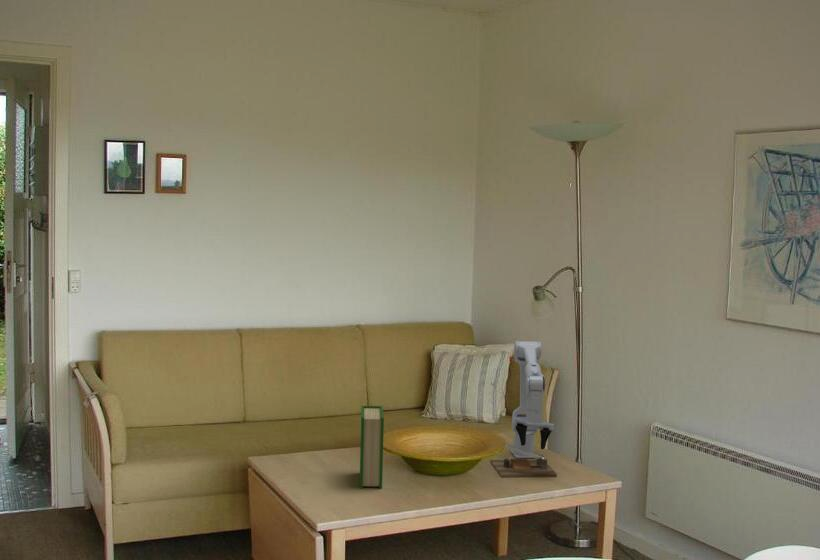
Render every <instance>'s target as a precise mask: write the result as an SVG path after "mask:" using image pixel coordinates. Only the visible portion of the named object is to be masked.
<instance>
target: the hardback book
mask: <svg viewBox="0 0 820 560" xmlns="http://www.w3.org/2000/svg"><path fill="white" fill-rule="evenodd" d="M360 409H361V410H360V412H361V413H360V449H359V453H360V454H359V489H360V490H361V489H362V490H363V488H364V487H379V488H378V489H379V490H382V489H383V470H384V469H383V465H384V464H383V462H384V426H385V425H384V420H385V415H384V407H383V405H361V406H360Z"/></svg>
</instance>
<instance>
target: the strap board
mask: <svg viewBox="0 0 820 560" xmlns="http://www.w3.org/2000/svg"><path fill="white" fill-rule="evenodd" d="M538 455H539V456H540V455H541V456H542V457H543V458H544V455H543V454H538ZM489 463H490V464H491V466H492V467H493V468H494V470H495V471H496V472H497V474H498V475H499V476H500V478H537V477H538V478H545V477H547V478H550V477H551V478H552V477H554V478H555V477H557V472H556V471H554V469H553V468H552V466H550V465H549V464H548V459H547V458H544V459H541V460H540V459H537V458H536V459H528V458H510V459H509V458H504V459H490V462H489Z"/></svg>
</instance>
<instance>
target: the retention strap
mask: <svg viewBox="0 0 820 560" xmlns="http://www.w3.org/2000/svg"><path fill="white" fill-rule="evenodd" d="M505 447H506V448H507V449H510V450H515V451H517V452H520V453H523V454H526V455H528V456H531V457H534V458H535V459H536V460H537V459H540V460H541V459H545V458H544V456H543V457H542V456H541V455H542V454H536V453H531V452H528V451H525V450H523V449H520V448H517V447H514V446H513V444H509V443H506V444H505ZM539 455H540V456H539ZM534 458H533V459H534Z"/></svg>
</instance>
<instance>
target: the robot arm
mask: <svg viewBox="0 0 820 560" xmlns="http://www.w3.org/2000/svg"><path fill="white" fill-rule="evenodd" d="M542 349H543V348H542V343H541V341H540V340H539V341H525V340H524V341H523V340H516V341H515V342H514V353H513V354H514V356H513V357H514V362H515V363H517V364H518V365H519V405H518V406H517V407H516V409H514V410H513V411H512V415H511V416H512V417H511V430H512V431H513V432H514V435H513V439H512V440H513V443H512V446H514V447H517V448H520V449H523V450H525V451H528V452H531V453H534V450H535V448H534V447H535V445H534V444H535V435H536V433H538V431H539V434H540V449H541V450H544V449H546V445H547V441H548V439H549V437H550V435H551V433H552V431H553V430H554V429H555V424H554V423H550V422H547V421H543V413H544V412H543V408H544V407H543V405H544V393H545V391H546V377H545V375H544V374H542V369H541V365H540V364H539V361H540V359H541V357H542ZM539 428H540V430H539ZM510 452H511V454H512V455H513V456H514V457H515V459H532V458H533V459H534V457H531V456H528V455H526V454H523V453H520V452H517V451H515V450H512V449H510ZM534 454H535V453H534Z"/></svg>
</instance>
